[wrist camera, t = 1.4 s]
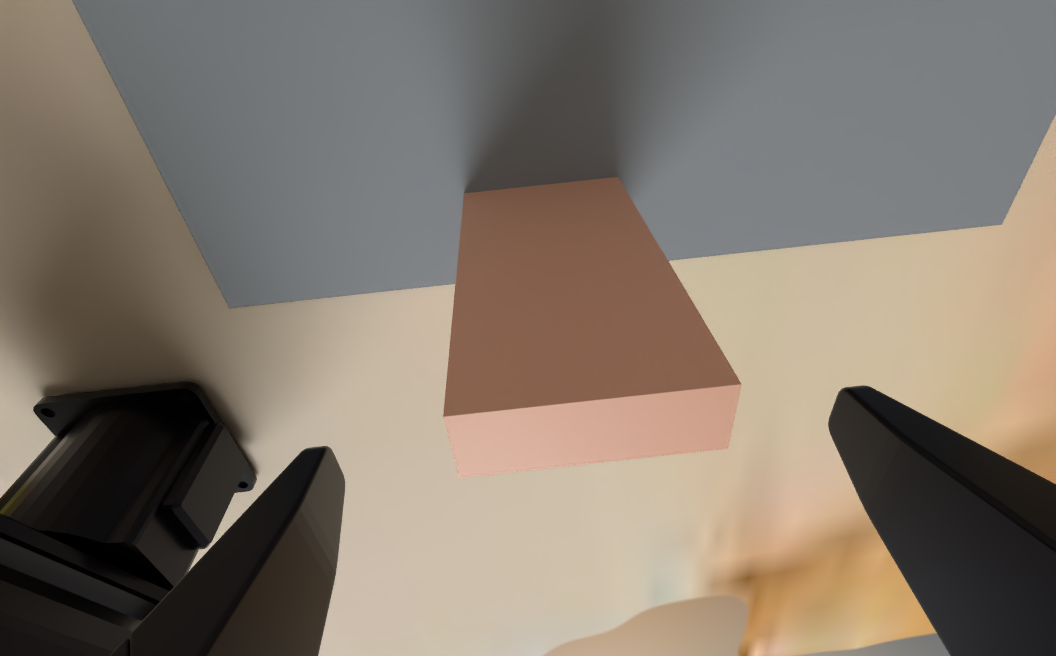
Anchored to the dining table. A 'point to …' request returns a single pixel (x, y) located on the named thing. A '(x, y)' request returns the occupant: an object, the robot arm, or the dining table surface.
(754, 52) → the mat
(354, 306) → the dining table surface
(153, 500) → the robot arm
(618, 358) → the domino
